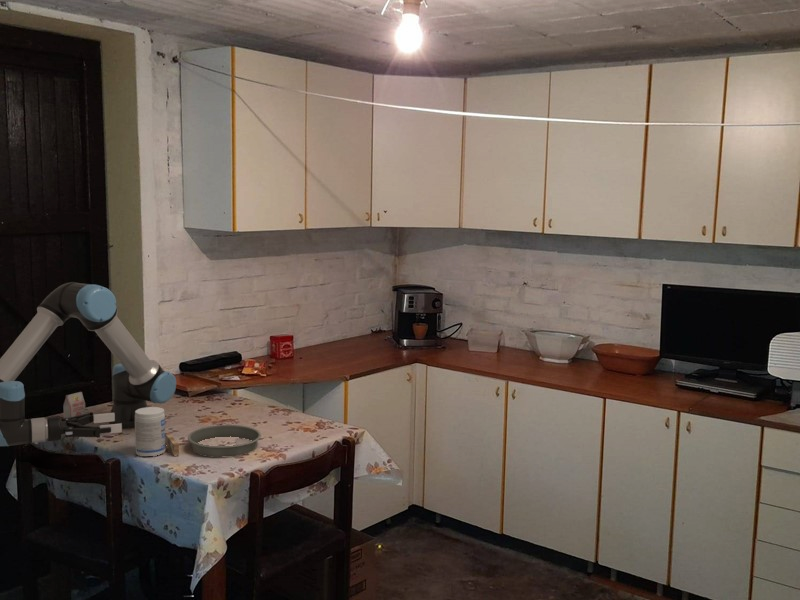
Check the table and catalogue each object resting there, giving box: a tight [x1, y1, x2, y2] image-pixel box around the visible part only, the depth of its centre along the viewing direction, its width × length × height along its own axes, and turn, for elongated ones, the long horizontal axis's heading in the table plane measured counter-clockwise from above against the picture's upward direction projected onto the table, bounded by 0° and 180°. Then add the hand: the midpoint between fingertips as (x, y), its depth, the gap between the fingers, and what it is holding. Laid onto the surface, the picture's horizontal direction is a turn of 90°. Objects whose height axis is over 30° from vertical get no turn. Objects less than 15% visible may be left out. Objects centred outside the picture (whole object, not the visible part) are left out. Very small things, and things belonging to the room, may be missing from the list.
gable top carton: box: [62, 391, 86, 418], centre depth 293 cm, size 4×7×10 cm, turn 151°
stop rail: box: [165, 432, 180, 457], centre depth 261 cm, size 14×2×4 cm, turn 29°
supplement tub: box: [134, 406, 166, 457], centre depth 257 cm, size 10×10×15 cm
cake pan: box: [187, 424, 262, 458], centre depth 266 cm, size 25×25×4 cm
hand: (118, 422), depth 251 cm, fingers open, 13 cm apart
